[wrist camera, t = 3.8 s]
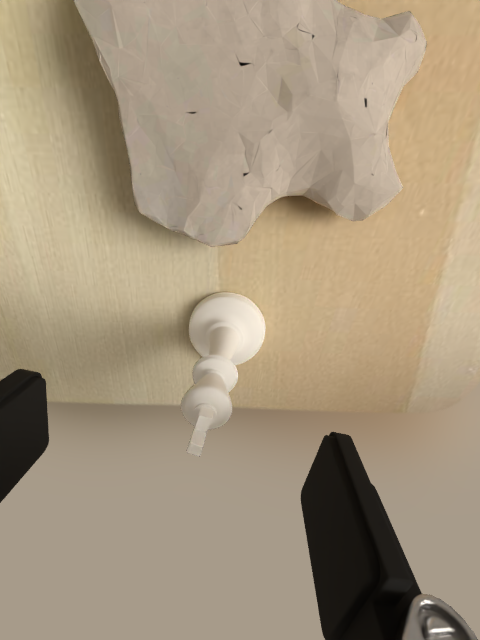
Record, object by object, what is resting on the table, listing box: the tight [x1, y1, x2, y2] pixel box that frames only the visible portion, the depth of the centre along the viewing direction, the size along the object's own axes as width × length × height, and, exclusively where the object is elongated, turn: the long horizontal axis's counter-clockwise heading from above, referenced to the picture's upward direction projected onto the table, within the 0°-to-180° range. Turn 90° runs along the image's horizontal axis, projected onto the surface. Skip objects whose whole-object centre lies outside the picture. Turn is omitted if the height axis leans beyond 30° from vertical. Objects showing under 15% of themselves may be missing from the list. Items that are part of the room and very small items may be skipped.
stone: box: [73, 0, 427, 247], centre depth 12 cm, size 14×4×15 cm
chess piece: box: [181, 292, 266, 457], centre depth 14 cm, size 5×5×10 cm
